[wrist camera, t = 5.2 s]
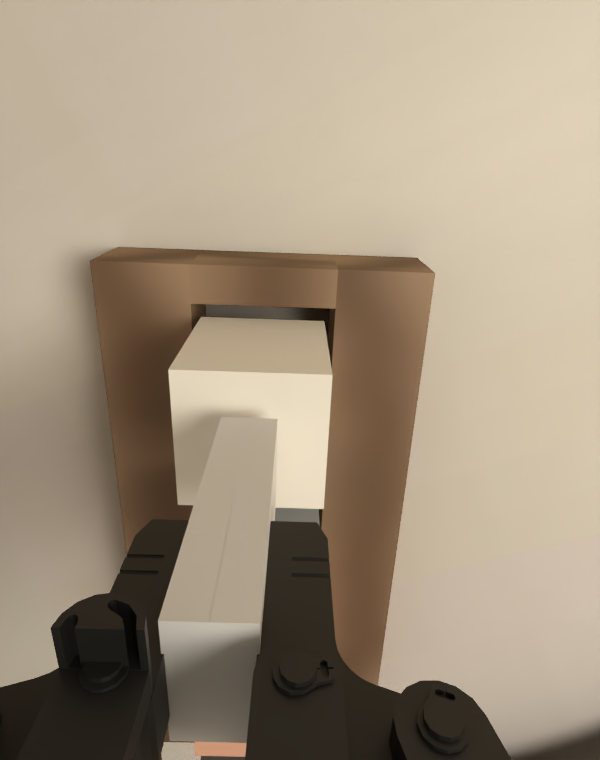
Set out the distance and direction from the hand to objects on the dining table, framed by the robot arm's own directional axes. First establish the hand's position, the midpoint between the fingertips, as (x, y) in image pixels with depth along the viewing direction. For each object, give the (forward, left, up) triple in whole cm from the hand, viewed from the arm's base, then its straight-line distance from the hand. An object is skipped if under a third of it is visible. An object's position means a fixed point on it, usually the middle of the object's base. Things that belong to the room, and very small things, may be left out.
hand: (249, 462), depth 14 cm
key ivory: (0, 0, -6) cm, 6 cm away
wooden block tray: (0, -9, -9) cm, 13 cm away
